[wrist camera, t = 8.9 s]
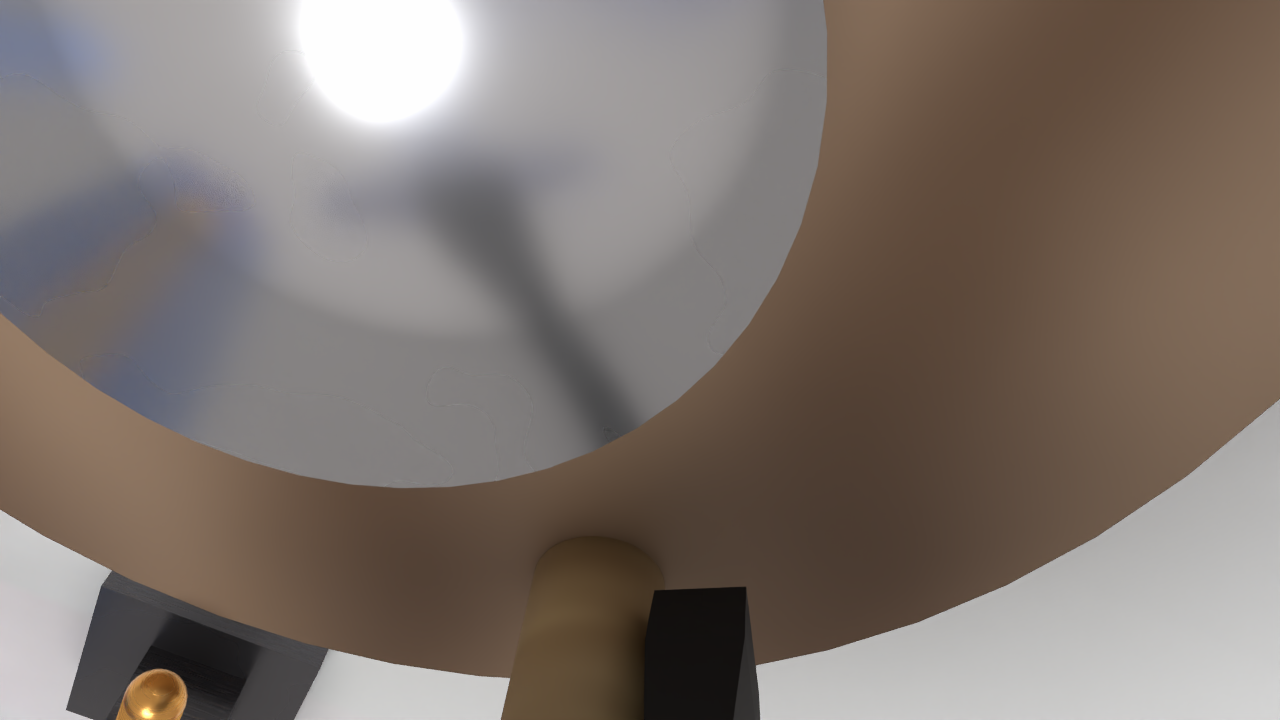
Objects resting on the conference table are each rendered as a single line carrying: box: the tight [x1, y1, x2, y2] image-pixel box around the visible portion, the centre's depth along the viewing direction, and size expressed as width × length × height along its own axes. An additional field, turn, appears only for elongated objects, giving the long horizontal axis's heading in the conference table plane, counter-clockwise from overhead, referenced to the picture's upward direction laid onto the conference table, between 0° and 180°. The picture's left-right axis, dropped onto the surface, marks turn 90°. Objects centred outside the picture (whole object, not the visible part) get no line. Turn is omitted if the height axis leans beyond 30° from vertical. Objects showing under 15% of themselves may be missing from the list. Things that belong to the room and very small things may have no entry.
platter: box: [0, 0, 1280, 720], centre depth 9 cm, size 20×20×4 cm
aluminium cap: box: [0, 0, 827, 488], centre depth 8 cm, size 7×7×3 cm
